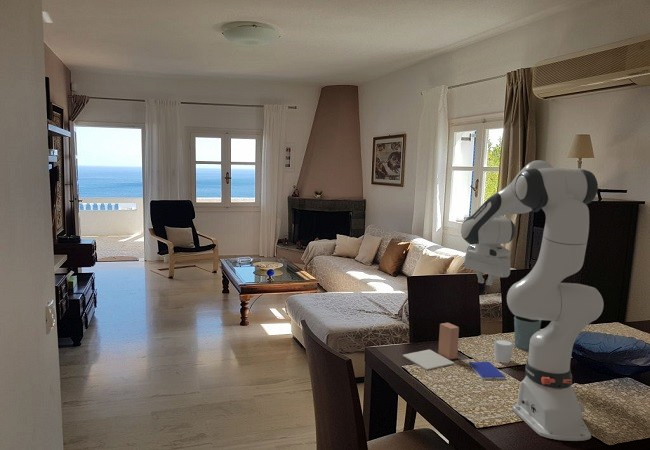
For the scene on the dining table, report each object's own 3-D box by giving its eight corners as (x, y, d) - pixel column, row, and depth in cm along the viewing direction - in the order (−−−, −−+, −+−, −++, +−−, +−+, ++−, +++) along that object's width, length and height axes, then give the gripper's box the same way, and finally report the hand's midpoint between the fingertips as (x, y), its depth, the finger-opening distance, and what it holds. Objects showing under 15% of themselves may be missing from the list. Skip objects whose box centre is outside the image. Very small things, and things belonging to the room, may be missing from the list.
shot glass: (515, 364, 175) (516, 346, 174) (496, 363, 175) (497, 345, 174) (508, 357, 181) (509, 339, 181) (490, 356, 182) (491, 338, 181)
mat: (454, 364, 173) (454, 362, 173) (426, 370, 167) (426, 368, 167) (429, 350, 186) (429, 349, 186) (402, 355, 180) (402, 354, 180)
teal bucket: (532, 353, 185) (534, 324, 184) (507, 346, 193) (509, 317, 191) (543, 347, 192) (545, 319, 191) (518, 340, 200) (521, 312, 198)
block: (457, 358, 179) (459, 327, 178) (449, 359, 177) (450, 328, 176) (446, 352, 184) (448, 322, 183) (438, 354, 183) (439, 323, 181)
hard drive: (468, 361, 173) (482, 376, 161) (490, 361, 174) (505, 376, 162) (468, 365, 173) (482, 381, 161) (489, 365, 174) (505, 380, 162)
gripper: (461, 244, 189) (459, 278, 191) (502, 253, 171) (499, 291, 173) (473, 244, 192) (471, 277, 194) (514, 252, 174) (511, 289, 176)
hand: (484, 284), depth 183 cm, fingers open, 3 cm apart
